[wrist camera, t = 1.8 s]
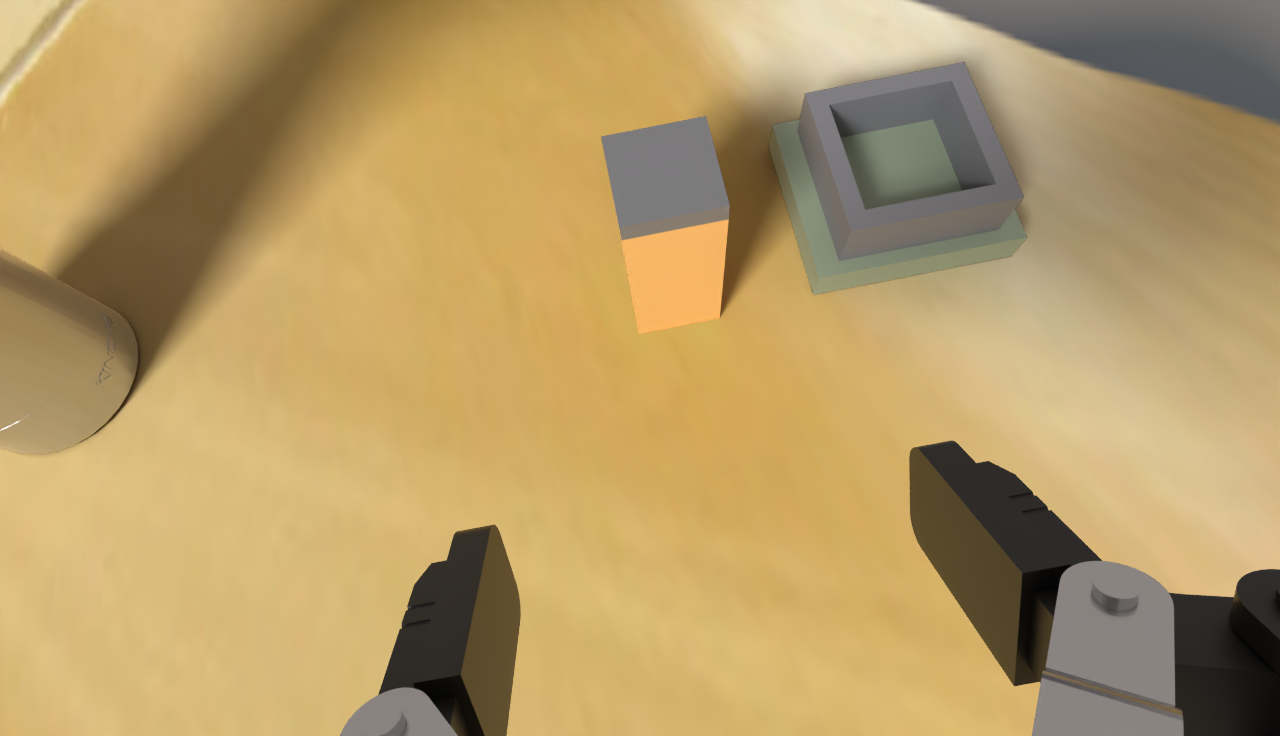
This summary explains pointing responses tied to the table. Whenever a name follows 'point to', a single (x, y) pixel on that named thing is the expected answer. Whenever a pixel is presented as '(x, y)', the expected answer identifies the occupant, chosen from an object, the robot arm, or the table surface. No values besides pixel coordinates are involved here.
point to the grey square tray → (896, 180)
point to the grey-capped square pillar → (670, 221)
